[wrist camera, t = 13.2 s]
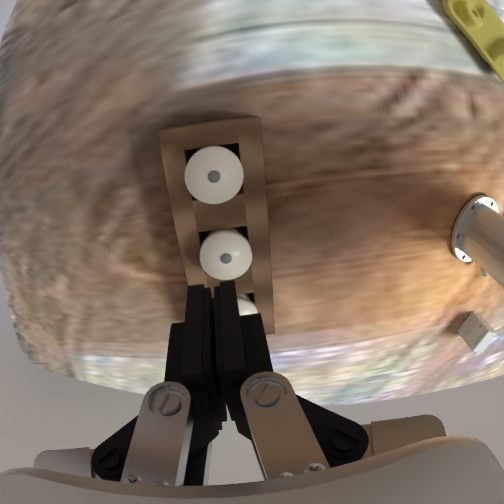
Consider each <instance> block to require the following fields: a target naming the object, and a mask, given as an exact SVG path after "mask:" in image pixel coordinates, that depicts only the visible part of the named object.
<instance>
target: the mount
mask: <svg viewBox="0 0 504 504" xmlns="http://www.w3.org/2000/svg"><path fill="white" fill-rule="evenodd" d="M158 137H159V144H160V150H161V156H162V162H163V167H164V173H165V179H166V184H167V189H168V195H169V200H170V205H171V210H172V215H173V220H174V224H175V229H176V234H177V238H178V243H179V247H180V252H181V256H182V261H183V265H184V269H185V273H186V277H187V282H188V286H191V285H199V284H204V287H205V288H207V287H210V289H211V294H212V299H213V304H214V287H215V286H220V282H222V281H230V280H235V286H236V293H237V295H239V294H246V293H252V294H253V303H254V304H255V306H256V308H257V311H258V313H261V316H262V321H263V326H264V331H265V335H268V334H274V333H275V325H274V306H273V289H272V272H271V255H270V240H269V225H268V210H267V196H266V182H265V169H264V156H263V143H262V131H261V119H260V118H259V117H257V116H246V117H236V118H227V119H219V120H211V121H204V122H197V123H190V124H184V125H178V126H172V127H167V128H163V129H162V130H160V131H158ZM233 143H237V150H238V159H239V160H240V162H241V165H242V168H243V173H244V178H243V183H242V186H241V188H240V190H239V191H238V193H237V194H236V195H235V196H234V197H233V198H231V199H230V200H228V201H226V202H223V203H219V204H208V203H204V202H201V201H199V200H198V199H196V198H195V197H194V196H193V195H192V194H191V193H190V192H189V190H188V188H187V186H186V183H185V169H186V166H187V164H188V161H189V160H190V158H189V151H188V150H189V149H196V148H202V147H208V146H217V145H225V144H233ZM241 226H245V228H246V237H247V240H248V242H249V244H250V247H251V252H252V262H251V265H250V267H249V268H248V270H247V271H246V272H245V273H244V274H243V275H241V276H239V277H237V278H235V279H230V280H220V279H216V278H214V277H212V276H210V275H209V274H207V273H206V272H205V271H204V269H203V268H202V266H201V263H200V249H201V245H202V243H203V238H202V232H204V231H211V230H219V229H226V228H234V227H241ZM214 309H215V304H214Z"/></svg>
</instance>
